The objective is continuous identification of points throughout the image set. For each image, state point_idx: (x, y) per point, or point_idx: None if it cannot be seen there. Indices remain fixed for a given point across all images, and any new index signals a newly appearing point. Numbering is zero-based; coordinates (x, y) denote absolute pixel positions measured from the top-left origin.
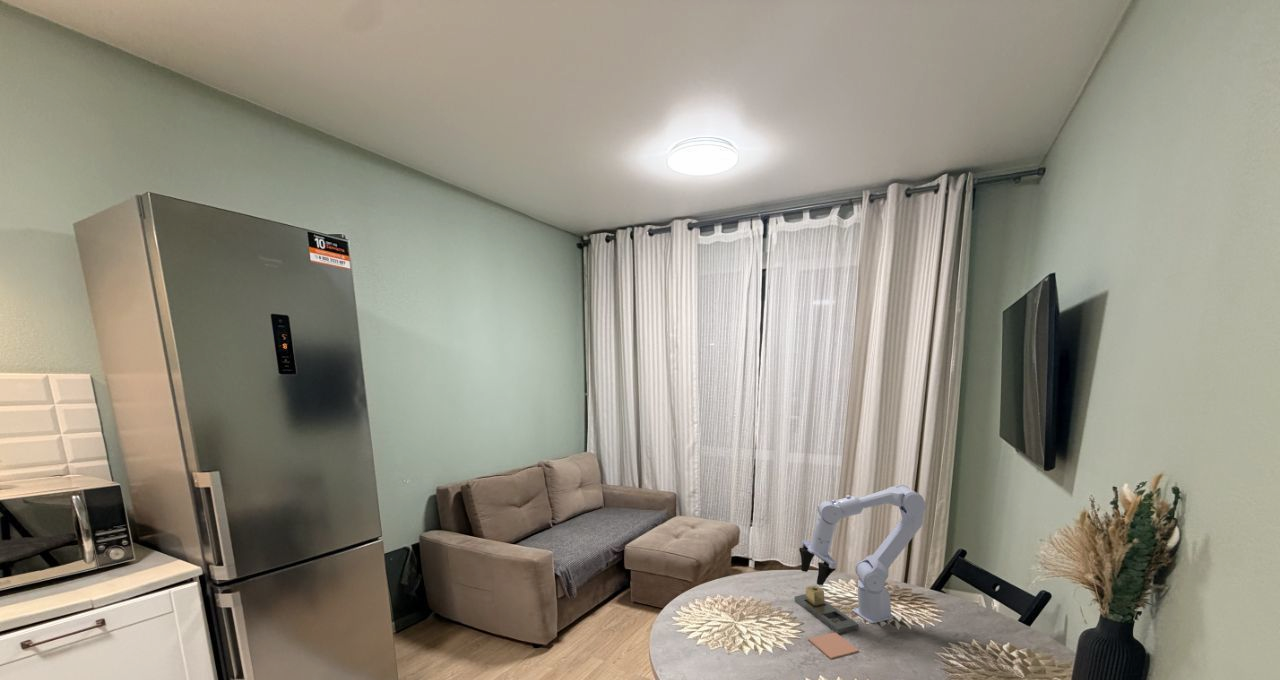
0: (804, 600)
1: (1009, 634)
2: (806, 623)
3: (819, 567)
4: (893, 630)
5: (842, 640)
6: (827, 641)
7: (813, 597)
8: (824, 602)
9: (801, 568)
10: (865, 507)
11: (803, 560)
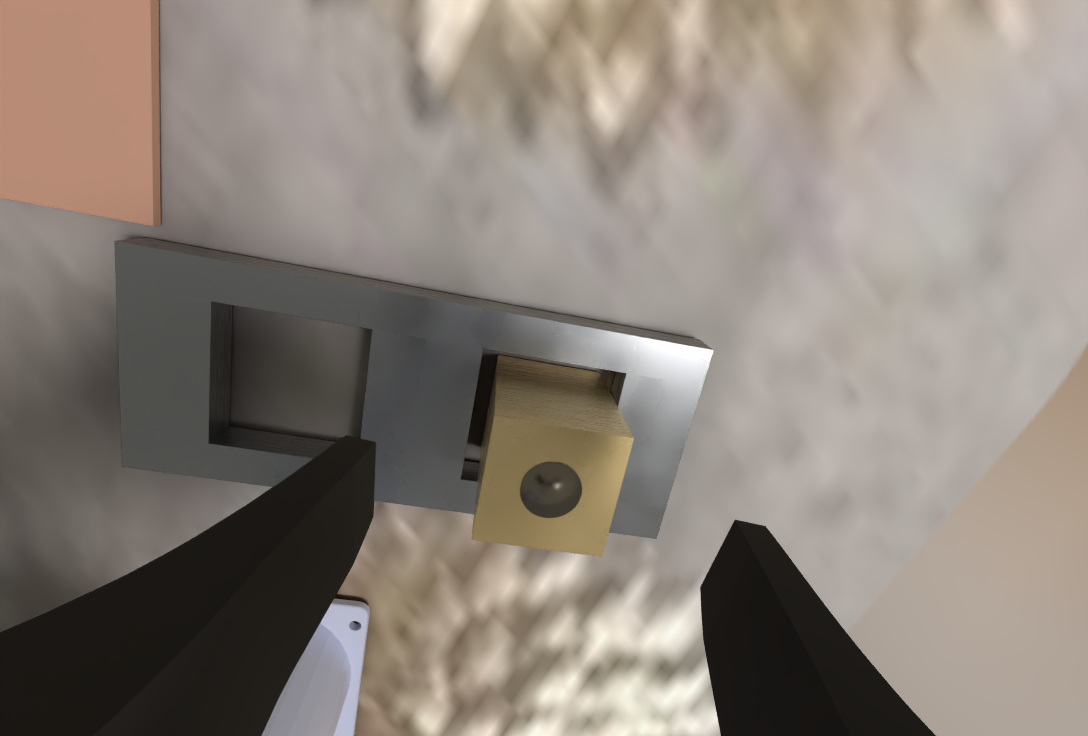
0: (622, 379)
1: None
2: (401, 135)
3: (69, 705)
4: None
5: (23, 170)
6: (48, 17)
7: (507, 396)
8: None
9: (779, 546)
10: None
11: (827, 700)
